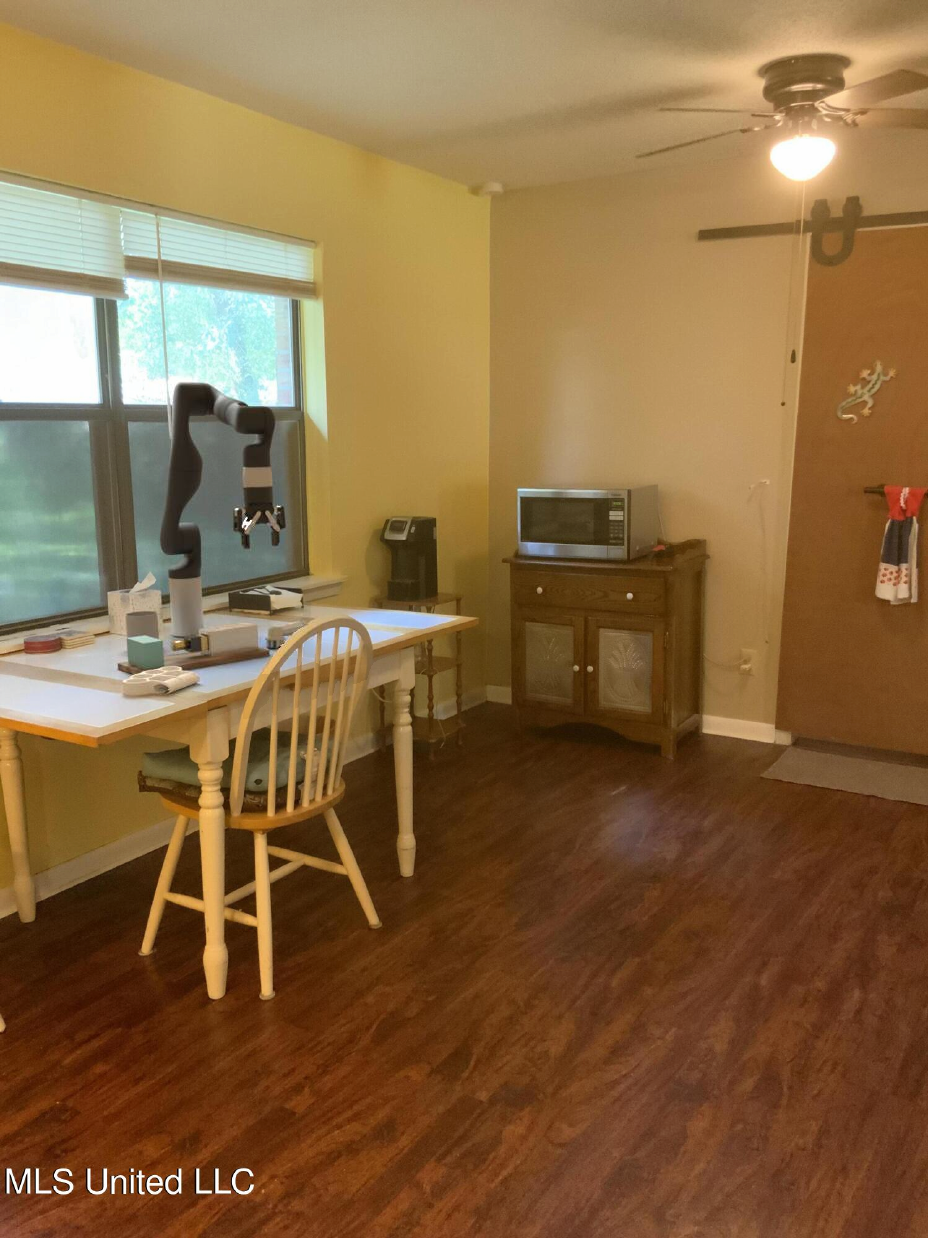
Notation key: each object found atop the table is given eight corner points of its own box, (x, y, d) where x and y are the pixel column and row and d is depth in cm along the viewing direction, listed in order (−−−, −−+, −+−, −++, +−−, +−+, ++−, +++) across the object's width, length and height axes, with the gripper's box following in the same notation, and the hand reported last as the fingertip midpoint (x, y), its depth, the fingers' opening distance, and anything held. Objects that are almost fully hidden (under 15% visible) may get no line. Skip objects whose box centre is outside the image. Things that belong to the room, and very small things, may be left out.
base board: (117, 668, 262) (117, 663, 262) (243, 648, 286) (243, 642, 285) (141, 677, 252) (141, 671, 252) (269, 655, 275) (269, 650, 275)
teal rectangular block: (128, 663, 262) (126, 638, 261) (147, 660, 265) (145, 635, 264) (145, 669, 254) (143, 643, 253) (164, 666, 258) (162, 640, 257)
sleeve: (200, 653, 273) (198, 629, 272) (247, 645, 282) (246, 622, 281) (211, 656, 268) (209, 631, 267) (258, 648, 277) (257, 624, 276)
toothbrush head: (311, 620, 307) (279, 623, 283) (311, 642, 308) (279, 647, 283) (294, 619, 308) (261, 623, 284) (294, 642, 309) (261, 647, 284)
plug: (170, 652, 266) (169, 638, 265) (245, 640, 280) (245, 627, 279) (176, 655, 263) (175, 640, 262) (252, 642, 277) (252, 628, 277)
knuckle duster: (161, 700, 232) (108, 695, 237) (208, 682, 248) (157, 678, 253) (160, 685, 231) (107, 681, 236) (207, 668, 248) (156, 664, 253)
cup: (154, 651, 283) (151, 615, 282) (124, 652, 283) (121, 616, 282) (162, 645, 292) (160, 610, 290) (133, 646, 292) (131, 611, 290)
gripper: (273, 483, 274) (276, 544, 277) (225, 485, 265) (229, 548, 268) (289, 483, 269) (292, 545, 272) (240, 486, 259) (244, 550, 262)
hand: (260, 547), depth 270 cm, fingers open, 8 cm apart
